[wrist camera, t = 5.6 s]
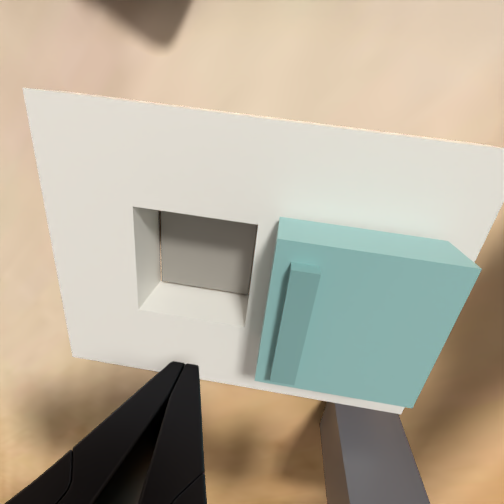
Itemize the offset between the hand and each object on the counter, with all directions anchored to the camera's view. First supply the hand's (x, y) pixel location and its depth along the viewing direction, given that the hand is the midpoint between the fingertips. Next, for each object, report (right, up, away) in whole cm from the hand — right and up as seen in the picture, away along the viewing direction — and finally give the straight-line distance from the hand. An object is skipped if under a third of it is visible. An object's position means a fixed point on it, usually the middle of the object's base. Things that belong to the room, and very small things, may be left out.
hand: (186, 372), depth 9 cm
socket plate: (+2, +4, +8) cm, 9 cm away
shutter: (+6, +2, +5) cm, 8 cm away
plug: (+9, -7, +12) cm, 17 cm away
